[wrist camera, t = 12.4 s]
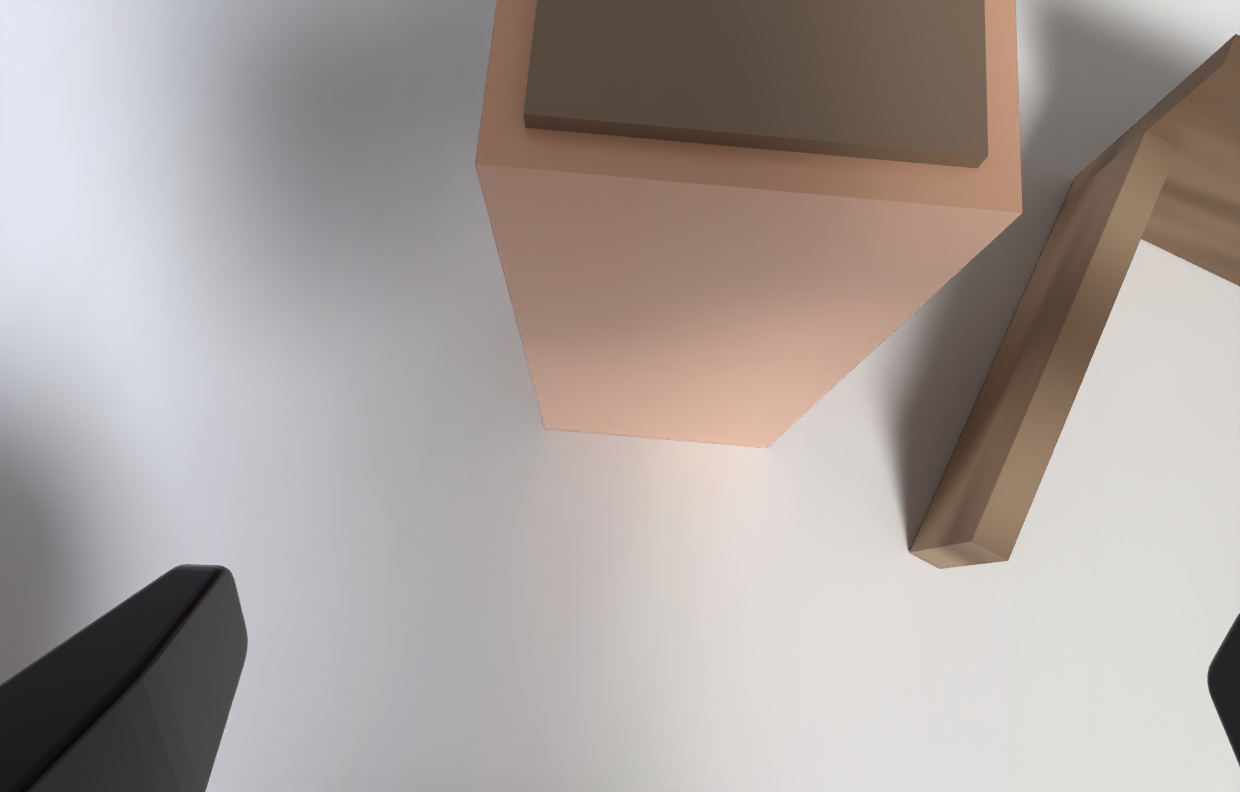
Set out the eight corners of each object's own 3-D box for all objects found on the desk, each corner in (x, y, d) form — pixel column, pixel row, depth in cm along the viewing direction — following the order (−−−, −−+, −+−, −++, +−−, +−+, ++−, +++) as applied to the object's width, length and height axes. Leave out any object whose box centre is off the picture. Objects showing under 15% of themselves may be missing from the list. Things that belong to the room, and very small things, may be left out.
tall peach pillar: (767, 448, 21) (1035, 201, 8) (544, 429, 21) (471, 151, 8) (775, 241, 23) (1017, -244, 10) (566, 222, 23) (531, -290, 10)
